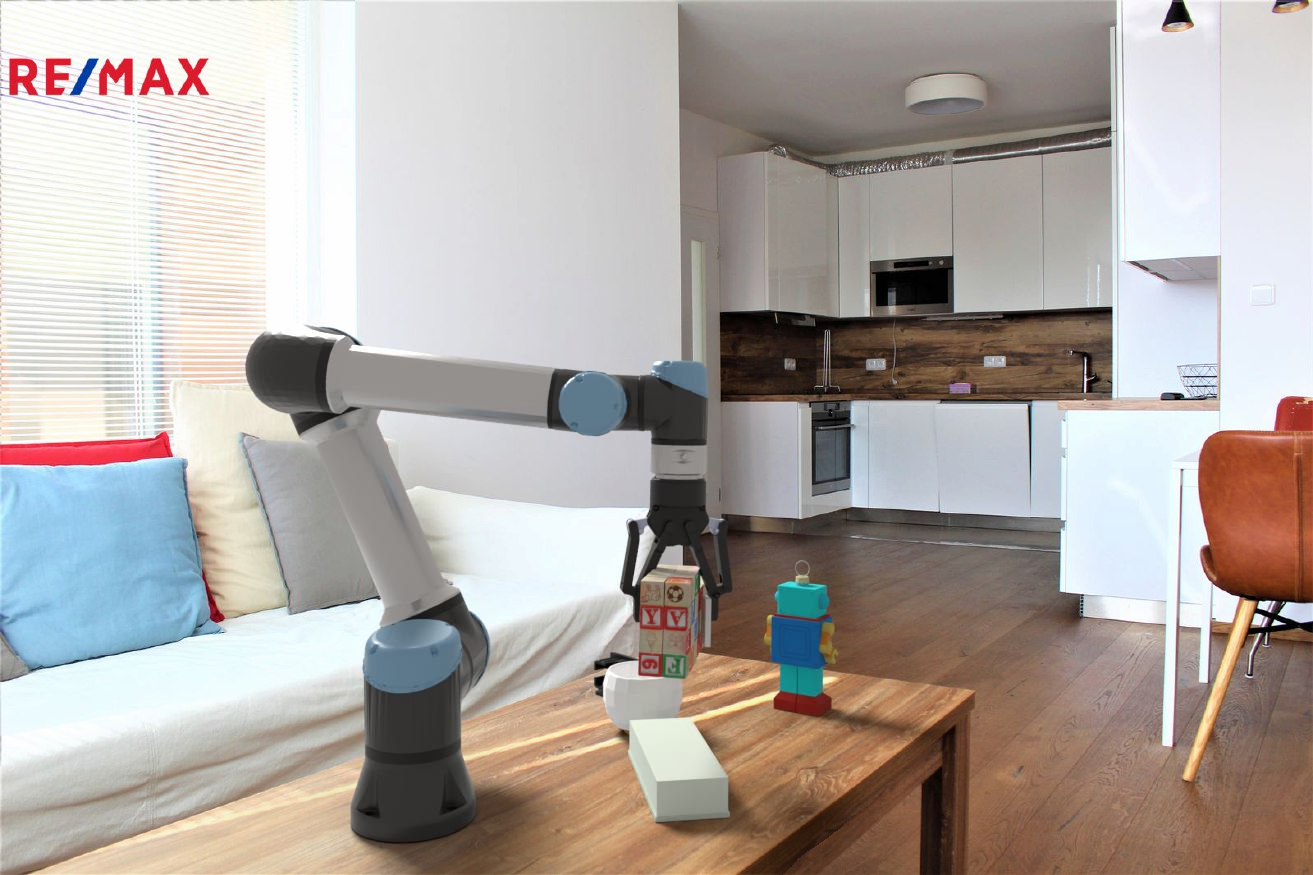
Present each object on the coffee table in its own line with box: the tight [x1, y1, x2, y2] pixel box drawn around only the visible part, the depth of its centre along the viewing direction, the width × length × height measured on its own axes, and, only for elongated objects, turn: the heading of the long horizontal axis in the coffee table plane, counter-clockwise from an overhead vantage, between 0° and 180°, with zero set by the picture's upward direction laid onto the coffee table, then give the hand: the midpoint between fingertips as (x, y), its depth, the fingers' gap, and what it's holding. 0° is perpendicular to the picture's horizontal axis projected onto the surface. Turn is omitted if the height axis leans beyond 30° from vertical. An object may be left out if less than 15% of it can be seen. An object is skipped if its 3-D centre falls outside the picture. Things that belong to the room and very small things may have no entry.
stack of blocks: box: [638, 563, 708, 680], centre depth 139 cm, size 21×6×12 cm, turn 170°
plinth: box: [627, 716, 731, 823], centre depth 139 cm, size 9×24×5 cm, turn 9°
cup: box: [602, 661, 683, 735], centre depth 161 cm, size 12×12×10 cm
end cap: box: [593, 651, 639, 698], centre depth 179 cm, size 10×7×7 cm
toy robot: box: [763, 560, 839, 717], centre depth 172 cm, size 12×6×25 cm, turn 58°
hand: (675, 645), depth 139 cm, fingers closed on stack of blocks, 8 cm apart
